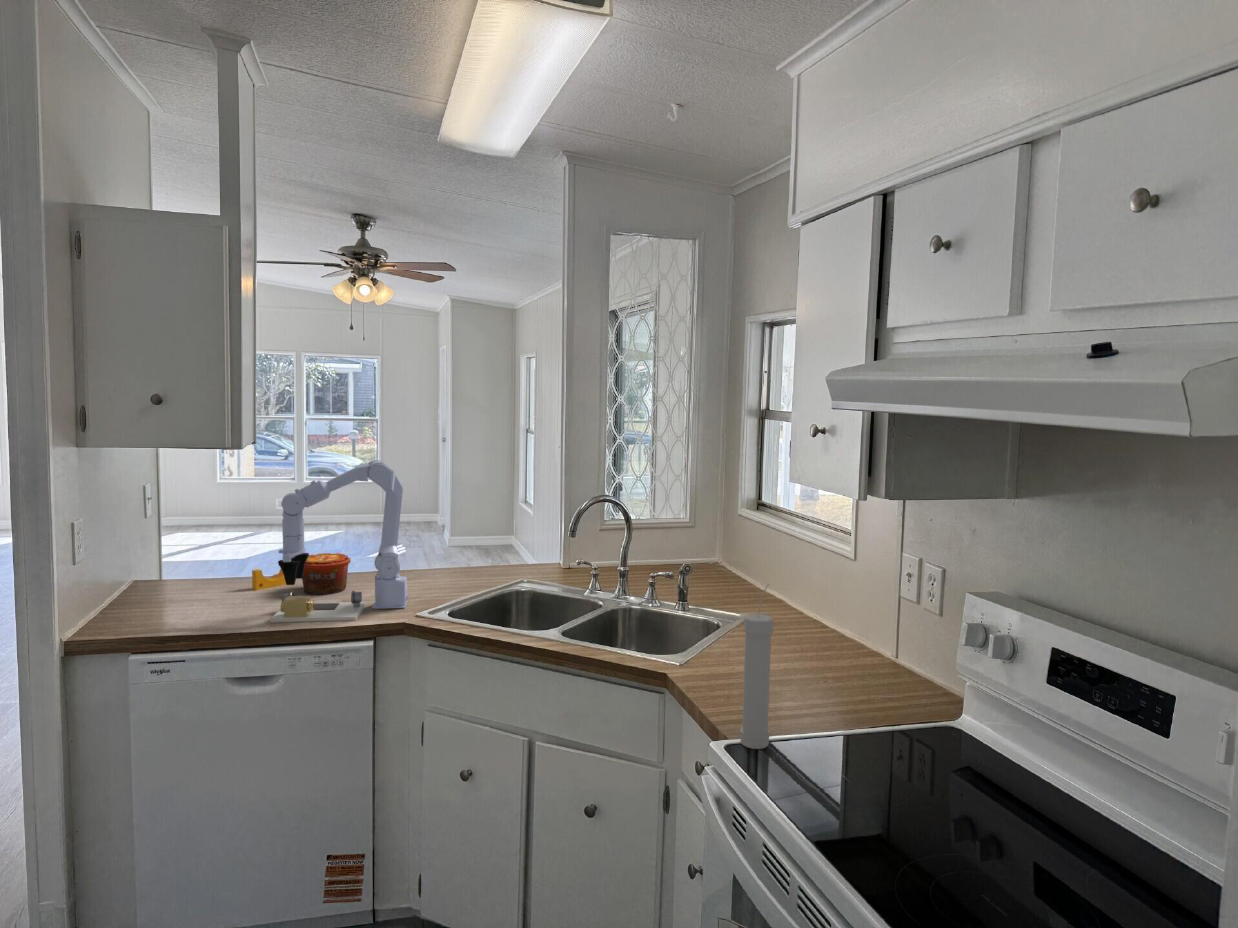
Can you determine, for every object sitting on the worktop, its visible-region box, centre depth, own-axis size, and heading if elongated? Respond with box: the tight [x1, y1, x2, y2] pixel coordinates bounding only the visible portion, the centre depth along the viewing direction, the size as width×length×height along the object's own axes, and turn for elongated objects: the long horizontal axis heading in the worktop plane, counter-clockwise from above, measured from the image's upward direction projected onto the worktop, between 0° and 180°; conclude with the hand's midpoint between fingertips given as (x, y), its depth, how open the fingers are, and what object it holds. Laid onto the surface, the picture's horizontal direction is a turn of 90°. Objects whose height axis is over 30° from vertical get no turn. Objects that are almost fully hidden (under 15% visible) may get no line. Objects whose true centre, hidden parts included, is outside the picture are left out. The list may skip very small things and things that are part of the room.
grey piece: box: [739, 583, 774, 750], centre depth 147 cm, size 6×6×30 cm
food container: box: [301, 552, 351, 595], centre depth 256 cm, size 16×16×11 cm
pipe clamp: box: [251, 568, 287, 591], centre depth 261 cm, size 12×4×6 cm, turn 143°
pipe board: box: [270, 590, 367, 623], centre depth 229 cm, size 23×16×6 cm
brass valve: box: [280, 595, 315, 618], centre depth 224 cm, size 8×4×5 cm, turn 98°
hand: (294, 581), depth 228 cm, fingers open, 7 cm apart
